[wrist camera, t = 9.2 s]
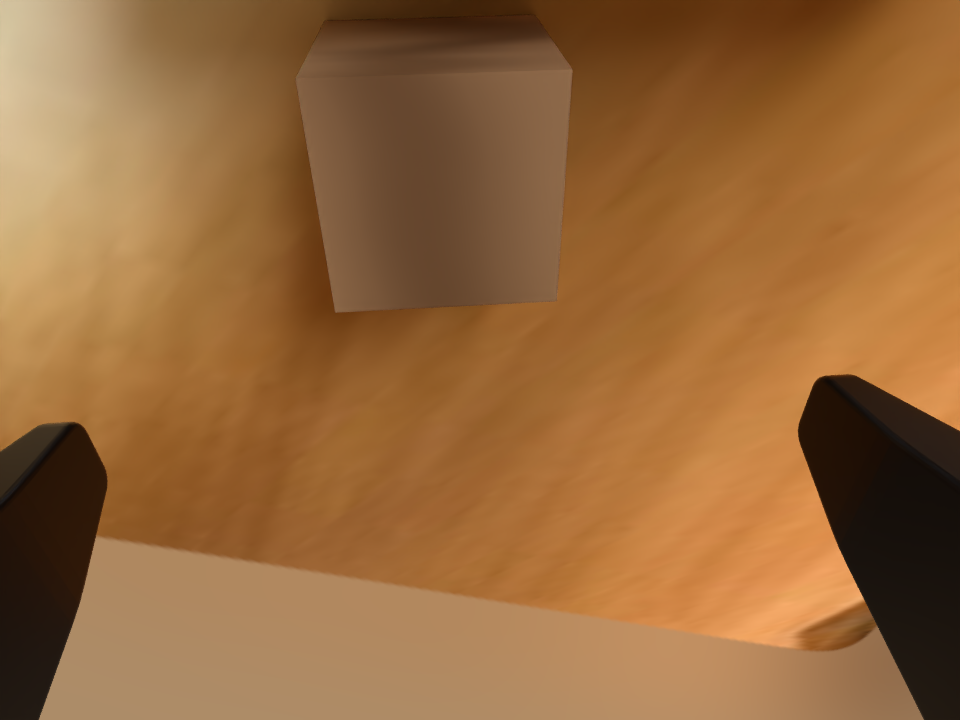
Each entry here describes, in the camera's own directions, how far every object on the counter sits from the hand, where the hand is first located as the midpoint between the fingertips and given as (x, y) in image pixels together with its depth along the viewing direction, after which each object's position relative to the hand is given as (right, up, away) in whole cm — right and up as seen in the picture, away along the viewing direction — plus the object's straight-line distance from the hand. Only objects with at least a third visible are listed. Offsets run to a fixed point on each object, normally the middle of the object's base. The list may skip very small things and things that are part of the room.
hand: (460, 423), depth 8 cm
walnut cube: (-1, +7, +9) cm, 12 cm away
